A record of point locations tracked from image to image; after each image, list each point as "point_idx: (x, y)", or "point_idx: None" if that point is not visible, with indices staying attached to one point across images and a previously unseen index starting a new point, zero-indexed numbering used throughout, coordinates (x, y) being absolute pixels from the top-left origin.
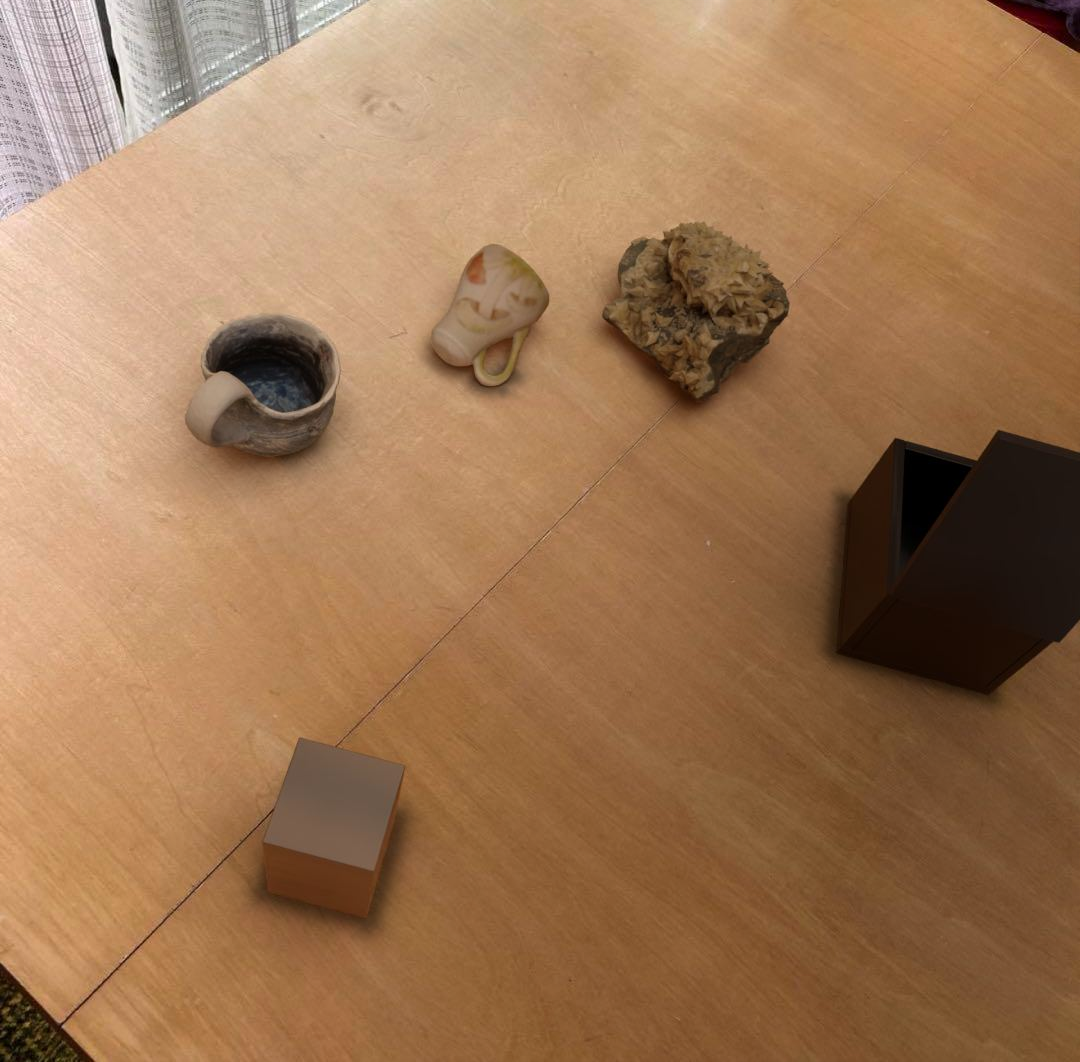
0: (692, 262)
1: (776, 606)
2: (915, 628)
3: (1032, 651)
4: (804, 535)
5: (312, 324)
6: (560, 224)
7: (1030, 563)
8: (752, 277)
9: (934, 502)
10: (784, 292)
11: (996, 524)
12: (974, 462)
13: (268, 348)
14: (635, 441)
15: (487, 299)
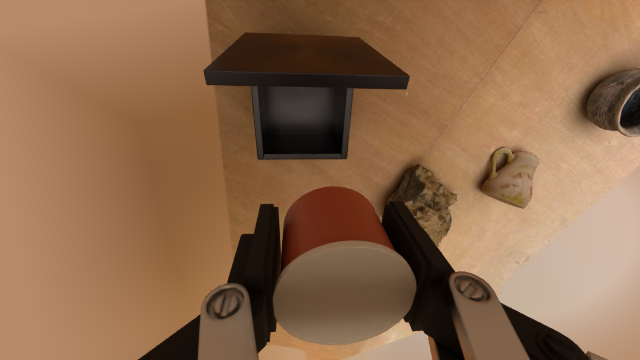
0: (445, 226)
1: None
2: None
3: None
4: (358, 113)
5: (626, 135)
6: (458, 235)
7: (298, 45)
8: None
9: (305, 141)
10: None
11: (342, 52)
12: (301, 157)
13: (625, 124)
14: (437, 140)
15: (526, 180)
